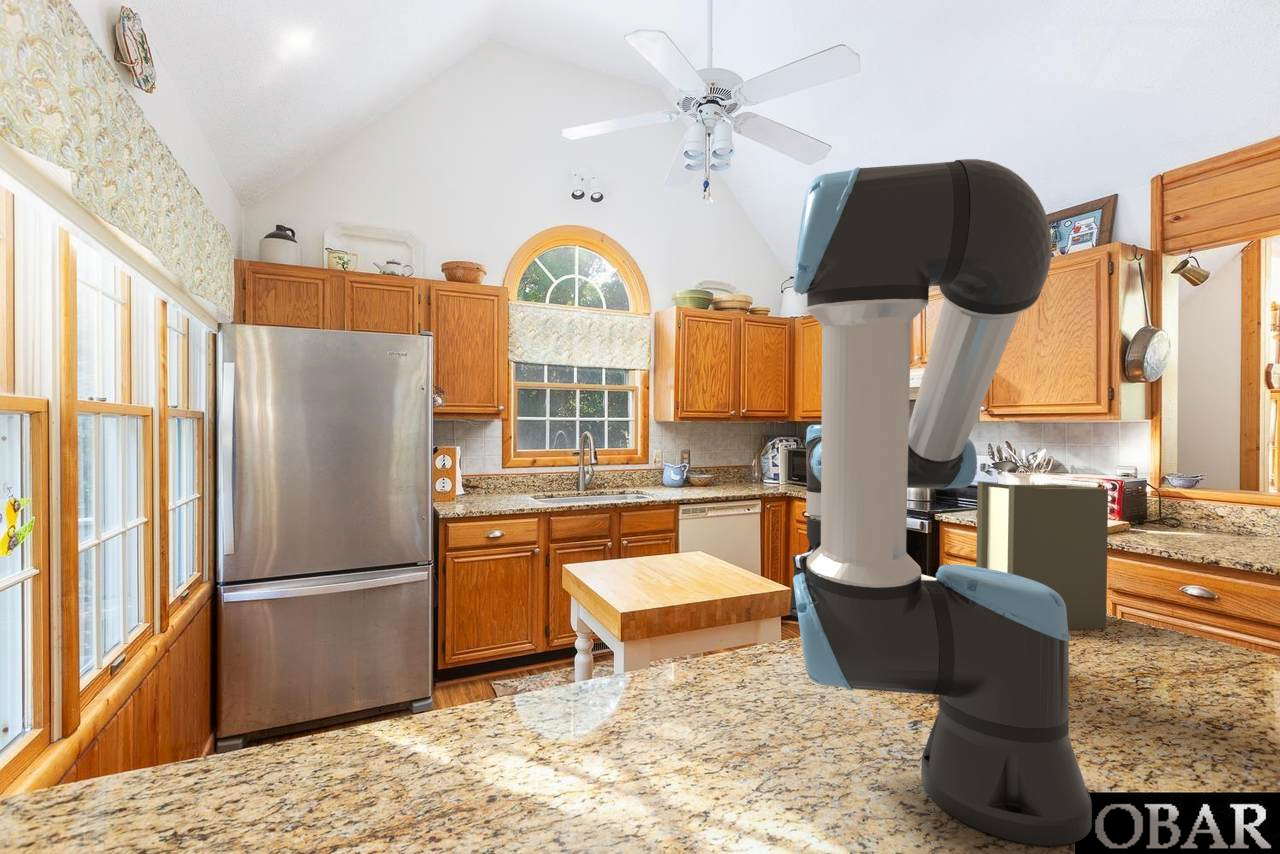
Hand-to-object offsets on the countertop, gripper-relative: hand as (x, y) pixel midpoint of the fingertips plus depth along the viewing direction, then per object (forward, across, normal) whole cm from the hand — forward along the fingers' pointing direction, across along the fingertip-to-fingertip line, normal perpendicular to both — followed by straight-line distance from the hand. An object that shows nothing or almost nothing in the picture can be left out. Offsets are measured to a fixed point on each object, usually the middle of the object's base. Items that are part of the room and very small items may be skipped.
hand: (830, 654), depth 99 cm
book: (+1, +51, -2) cm, 51 cm away
